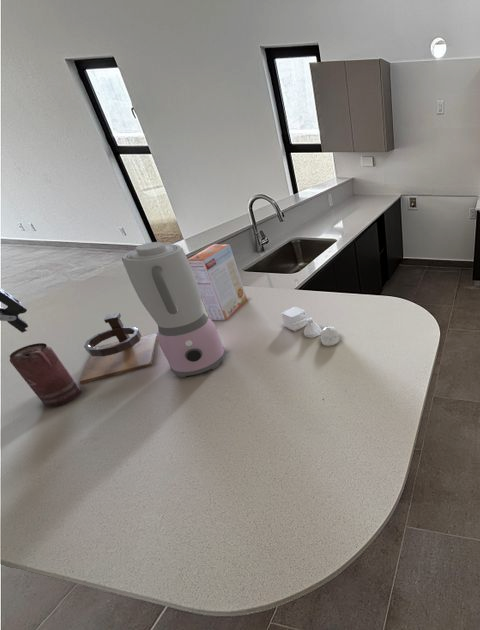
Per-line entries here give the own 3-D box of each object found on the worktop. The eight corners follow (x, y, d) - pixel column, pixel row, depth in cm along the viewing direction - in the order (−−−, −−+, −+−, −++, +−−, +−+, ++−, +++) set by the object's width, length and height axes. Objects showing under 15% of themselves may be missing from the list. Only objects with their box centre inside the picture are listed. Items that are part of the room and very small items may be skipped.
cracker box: (231, 301, 117) (212, 243, 106) (248, 301, 117) (231, 243, 106) (208, 321, 105) (184, 259, 94) (227, 322, 104) (204, 259, 94)
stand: (82, 386, 79) (58, 352, 74) (98, 351, 91) (79, 320, 86) (152, 367, 85) (135, 335, 80) (159, 337, 97) (144, 307, 92)
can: (67, 409, 73) (29, 359, 66) (38, 409, 73) (-3, 359, 66) (90, 390, 78) (58, 341, 71) (63, 390, 78) (28, 341, 71)
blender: (173, 359, 88) (116, 242, 72) (223, 344, 94) (182, 233, 78) (174, 394, 77) (107, 265, 61) (231, 375, 83) (185, 253, 66)
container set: (284, 328, 101) (280, 312, 99) (298, 320, 105) (295, 305, 102) (330, 350, 92) (327, 333, 89) (343, 341, 95) (341, 324, 93)
